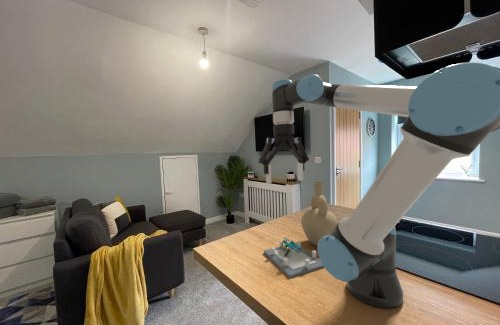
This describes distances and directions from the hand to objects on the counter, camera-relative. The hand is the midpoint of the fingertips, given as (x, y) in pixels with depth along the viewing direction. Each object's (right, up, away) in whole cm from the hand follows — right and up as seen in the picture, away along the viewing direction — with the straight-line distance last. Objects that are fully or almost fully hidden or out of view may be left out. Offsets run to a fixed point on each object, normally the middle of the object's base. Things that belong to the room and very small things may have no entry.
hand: (285, 181), depth 78 cm
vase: (+21, -33, +24) cm, 45 cm away
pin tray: (+5, -34, +9) cm, 35 cm away
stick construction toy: (+6, -33, +12) cm, 35 cm away
